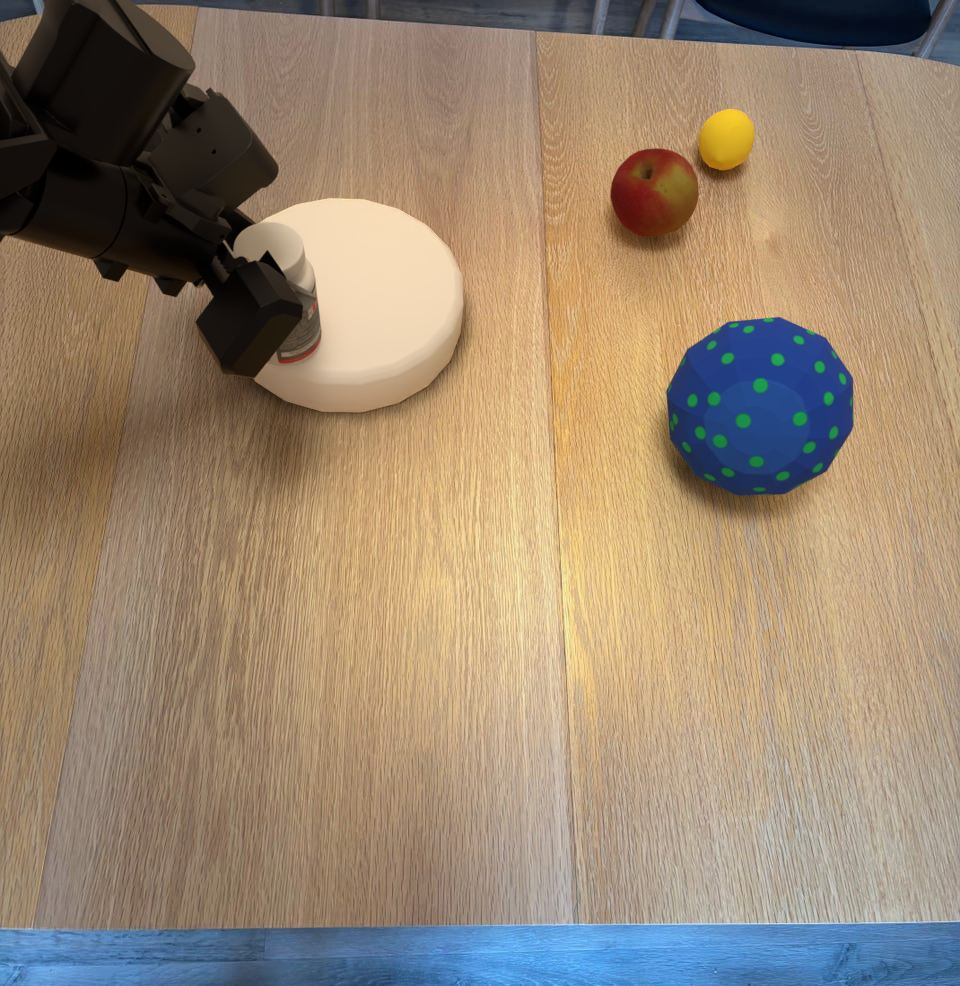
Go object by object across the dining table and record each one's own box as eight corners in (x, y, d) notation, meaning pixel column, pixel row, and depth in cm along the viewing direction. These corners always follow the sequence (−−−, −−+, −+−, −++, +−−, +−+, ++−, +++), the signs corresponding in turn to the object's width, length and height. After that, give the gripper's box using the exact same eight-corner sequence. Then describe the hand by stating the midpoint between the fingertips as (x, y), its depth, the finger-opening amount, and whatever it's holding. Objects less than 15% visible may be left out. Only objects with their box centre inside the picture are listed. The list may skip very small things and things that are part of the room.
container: (198, 393, 69) (186, 358, 65) (258, 215, 79) (251, 175, 75) (444, 430, 70) (447, 397, 66) (474, 249, 79) (478, 211, 75)
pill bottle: (327, 314, 68) (318, 221, 60) (316, 372, 66) (305, 283, 57) (254, 306, 68) (235, 211, 59) (240, 364, 65) (217, 273, 56)
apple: (610, 188, 85) (630, 119, 78) (690, 209, 84) (717, 142, 77) (594, 242, 81) (613, 174, 74) (677, 264, 81) (705, 199, 73)
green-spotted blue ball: (870, 315, 69) (890, 350, 56) (824, 477, 74) (833, 545, 61) (693, 288, 73) (673, 315, 59) (662, 445, 78) (637, 501, 65)
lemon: (735, 191, 86) (755, 147, 81) (684, 174, 86) (701, 129, 82) (749, 147, 89) (769, 102, 84) (699, 131, 90) (716, 86, 85)
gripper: (249, 202, 42) (432, 278, 55) (101, -11, 48) (296, 102, 62) (134, 364, 46) (329, 398, 59) (12, 147, 53) (213, 222, 66)
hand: (292, 274), depth 61 cm, fingers closed on pill bottle, 6 cm apart
